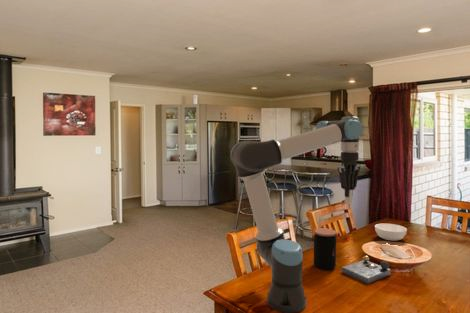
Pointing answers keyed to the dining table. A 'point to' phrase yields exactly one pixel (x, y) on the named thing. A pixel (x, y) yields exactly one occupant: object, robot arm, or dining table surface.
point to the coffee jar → (325, 249)
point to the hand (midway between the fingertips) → (348, 203)
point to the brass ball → (366, 258)
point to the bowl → (390, 231)
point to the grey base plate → (365, 271)
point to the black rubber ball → (384, 264)
